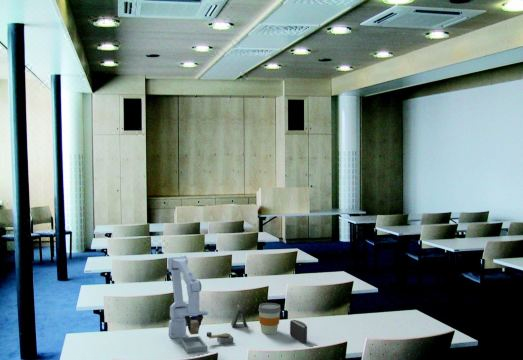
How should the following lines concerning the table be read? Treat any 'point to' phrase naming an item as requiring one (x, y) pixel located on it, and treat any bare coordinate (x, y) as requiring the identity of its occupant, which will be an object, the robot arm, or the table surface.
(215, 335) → the crank
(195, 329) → the block
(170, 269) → the robot arm
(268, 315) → the reusable coffee cup
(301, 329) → the leaning round-cornered charcoal block
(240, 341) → the table surface
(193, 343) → the tray
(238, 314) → the phone stand
